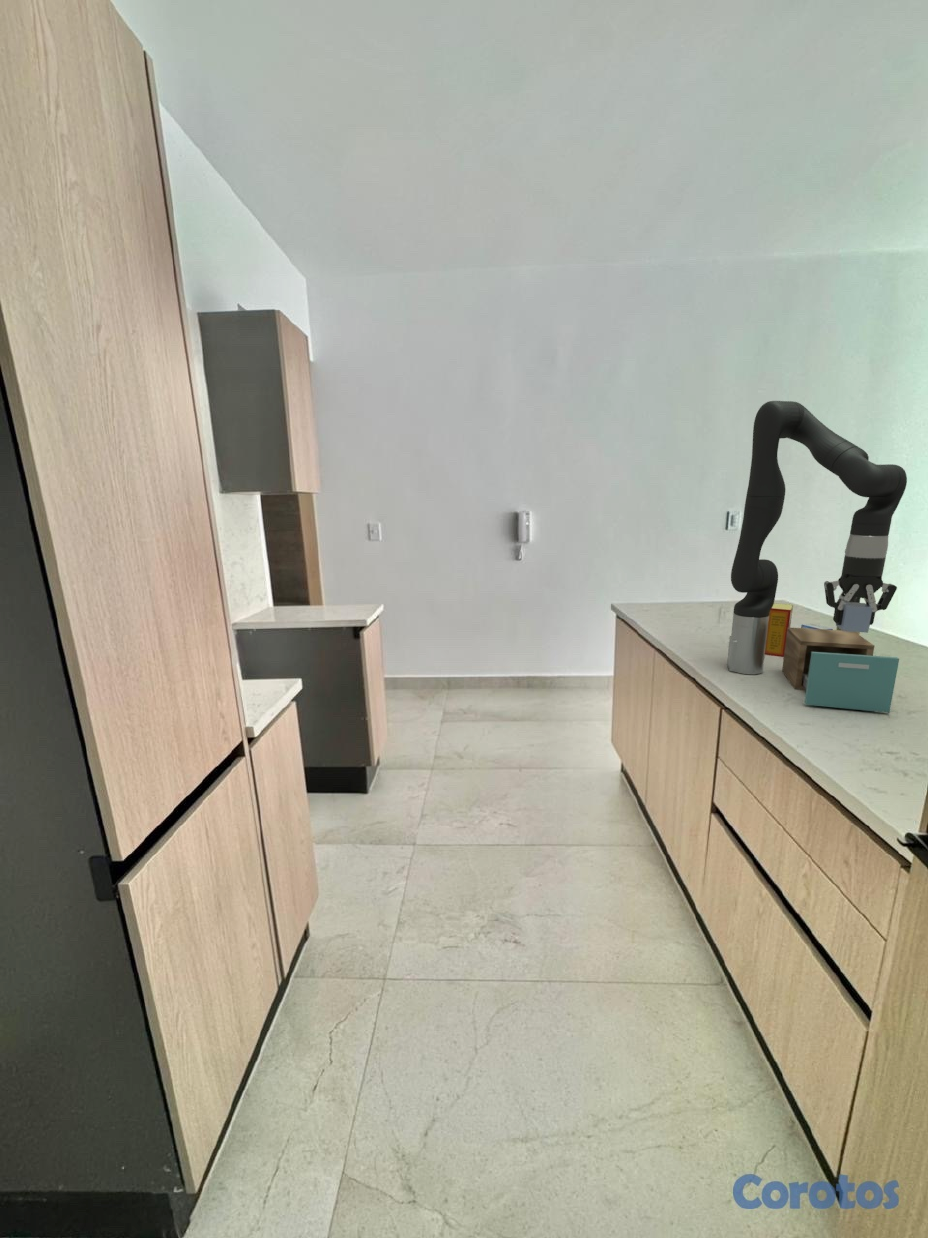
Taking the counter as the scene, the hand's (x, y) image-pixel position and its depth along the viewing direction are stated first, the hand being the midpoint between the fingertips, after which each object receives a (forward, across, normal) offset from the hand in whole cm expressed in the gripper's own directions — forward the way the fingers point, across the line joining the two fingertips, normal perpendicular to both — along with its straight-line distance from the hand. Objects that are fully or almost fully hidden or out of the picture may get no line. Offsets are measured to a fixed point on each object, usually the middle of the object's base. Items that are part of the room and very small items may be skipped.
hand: (852, 624), depth 121 cm
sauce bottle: (+22, +16, +53) cm, 59 cm away
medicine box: (+22, +6, +48) cm, 53 cm away
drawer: (+20, +1, +4) cm, 20 cm away
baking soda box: (+22, -6, +44) cm, 50 cm away
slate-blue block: (+1, 0, 0) cm, 1 cm away
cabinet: (+21, 0, +16) cm, 27 cm away
